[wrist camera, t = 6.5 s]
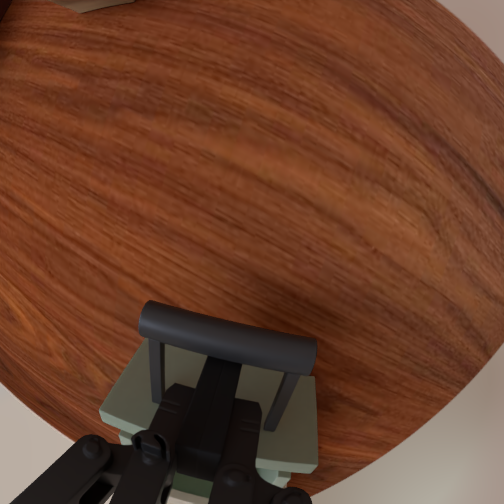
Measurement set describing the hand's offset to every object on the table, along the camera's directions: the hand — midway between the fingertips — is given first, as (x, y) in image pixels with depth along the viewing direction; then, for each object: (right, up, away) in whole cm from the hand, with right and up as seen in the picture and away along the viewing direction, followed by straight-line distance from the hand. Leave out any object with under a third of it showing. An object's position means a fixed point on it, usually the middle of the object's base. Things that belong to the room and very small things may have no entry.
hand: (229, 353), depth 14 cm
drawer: (-1, -5, +5) cm, 7 cm away
